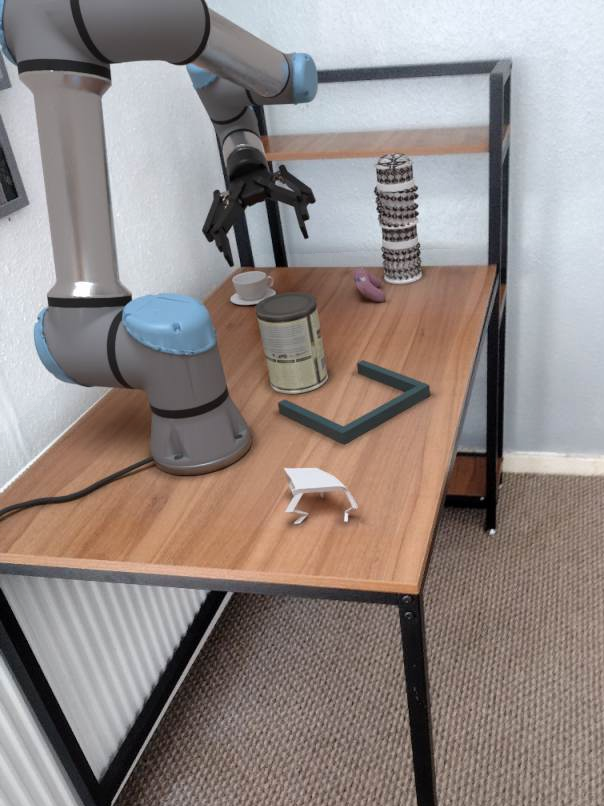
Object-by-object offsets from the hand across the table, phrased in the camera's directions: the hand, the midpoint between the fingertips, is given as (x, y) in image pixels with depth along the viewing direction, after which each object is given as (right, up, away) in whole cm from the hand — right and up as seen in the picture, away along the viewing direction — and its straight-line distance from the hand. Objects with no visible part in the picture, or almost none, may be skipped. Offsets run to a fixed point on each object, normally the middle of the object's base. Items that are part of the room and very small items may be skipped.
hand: (266, 247), depth 133 cm
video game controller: (+17, +1, +35) cm, 38 cm away
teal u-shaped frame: (+15, -27, -3) cm, 31 cm away
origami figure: (+11, -45, -27) cm, 53 cm away
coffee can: (+5, -22, +6) cm, 23 cm away
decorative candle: (+24, +7, +42) cm, 49 cm away
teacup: (-9, +2, +40) cm, 41 cm away
